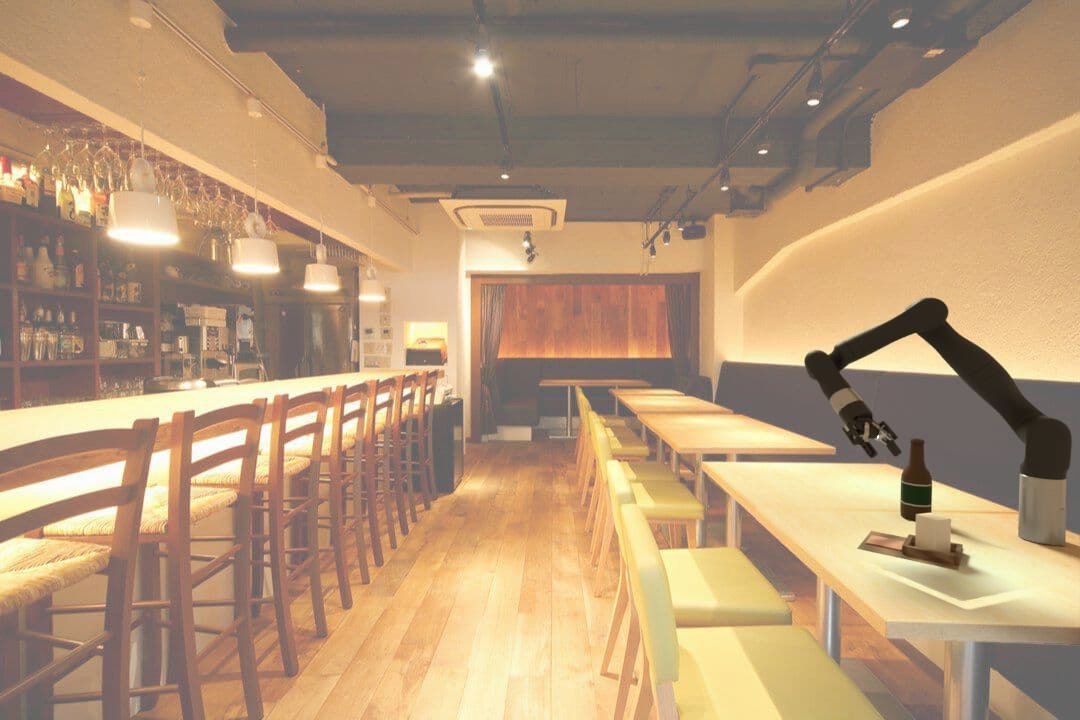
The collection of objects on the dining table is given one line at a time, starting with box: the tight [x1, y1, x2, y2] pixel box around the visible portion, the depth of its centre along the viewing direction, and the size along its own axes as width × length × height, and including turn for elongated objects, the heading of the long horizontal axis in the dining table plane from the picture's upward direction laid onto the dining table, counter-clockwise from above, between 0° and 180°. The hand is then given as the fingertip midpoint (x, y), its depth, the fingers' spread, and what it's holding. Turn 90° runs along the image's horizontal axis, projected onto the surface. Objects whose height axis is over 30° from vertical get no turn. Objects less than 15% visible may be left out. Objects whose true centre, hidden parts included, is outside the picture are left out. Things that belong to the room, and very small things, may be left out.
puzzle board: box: [856, 530, 964, 571], centre depth 136 cm, size 20×18×3 cm
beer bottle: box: [899, 438, 933, 522], centre depth 165 cm, size 8×8×24 cm
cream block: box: [914, 512, 952, 554], centre depth 133 cm, size 5×5×9 cm
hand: (886, 455), depth 145 cm, fingers open, 8 cm apart
